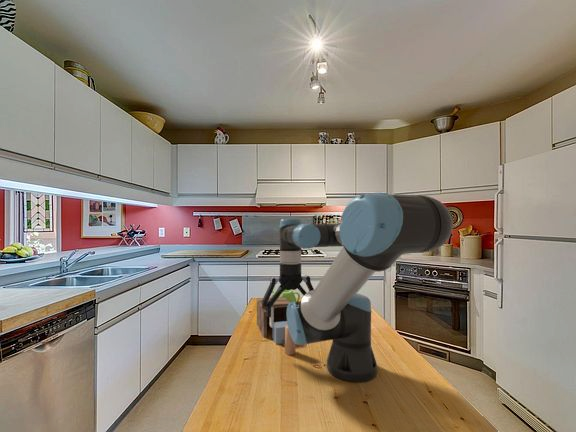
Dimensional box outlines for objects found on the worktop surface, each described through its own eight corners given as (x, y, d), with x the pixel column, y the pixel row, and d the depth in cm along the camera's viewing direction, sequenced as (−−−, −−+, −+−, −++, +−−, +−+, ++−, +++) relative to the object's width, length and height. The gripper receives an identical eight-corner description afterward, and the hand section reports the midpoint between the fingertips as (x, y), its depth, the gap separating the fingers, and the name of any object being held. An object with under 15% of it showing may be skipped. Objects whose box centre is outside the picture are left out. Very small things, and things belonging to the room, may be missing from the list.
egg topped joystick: (300, 353, 99) (300, 327, 99) (283, 356, 97) (283, 329, 98) (287, 336, 114) (287, 313, 114) (272, 338, 113) (272, 314, 113)
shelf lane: (294, 334, 116) (294, 306, 117) (263, 337, 113) (263, 308, 113) (283, 321, 131) (284, 296, 131) (256, 324, 127) (257, 298, 128)
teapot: (262, 310, 148) (262, 285, 148) (286, 306, 155) (286, 282, 156) (278, 319, 134) (278, 292, 134) (303, 314, 142) (303, 288, 142)
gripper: (319, 260, 108) (319, 317, 107) (253, 262, 101) (253, 324, 100) (327, 262, 101) (328, 324, 100) (257, 265, 94) (257, 331, 93)
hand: (290, 324), depth 100 cm, fingers open, 13 cm apart
